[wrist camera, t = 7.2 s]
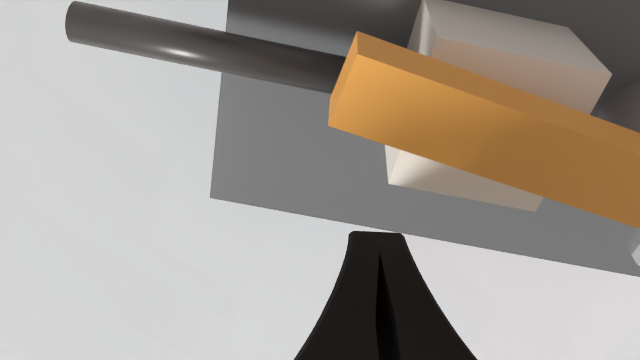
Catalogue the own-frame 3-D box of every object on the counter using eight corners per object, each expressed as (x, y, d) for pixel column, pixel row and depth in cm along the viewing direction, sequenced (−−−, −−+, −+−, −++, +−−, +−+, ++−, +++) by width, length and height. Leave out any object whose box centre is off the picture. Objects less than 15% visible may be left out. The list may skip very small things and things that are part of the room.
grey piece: (860, -5, 16) (1087, 83, 11) (667, 241, 22) (760, 371, 17) (256, -145, 14) (207, -116, 10) (224, 157, 20) (183, 271, 15)
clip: (804, 164, 12) (844, 197, 11) (711, 250, 14) (740, 285, 13) (368, 2, 10) (370, 23, 9) (320, 121, 12) (318, 149, 11)
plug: (568, 27, 14) (612, 74, 12) (508, 150, 17) (535, 211, 14) (93, -76, 13) (36, -48, 11) (101, 70, 16) (54, 120, 13)
